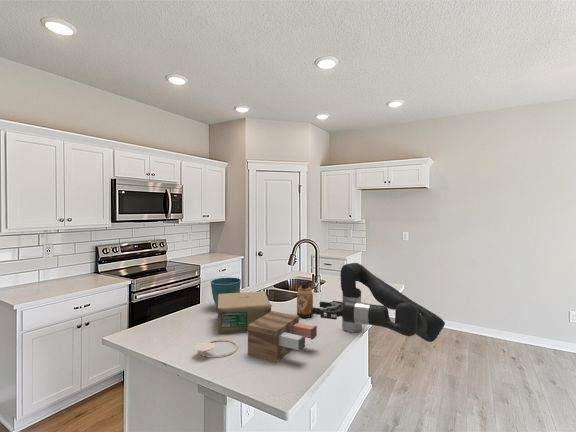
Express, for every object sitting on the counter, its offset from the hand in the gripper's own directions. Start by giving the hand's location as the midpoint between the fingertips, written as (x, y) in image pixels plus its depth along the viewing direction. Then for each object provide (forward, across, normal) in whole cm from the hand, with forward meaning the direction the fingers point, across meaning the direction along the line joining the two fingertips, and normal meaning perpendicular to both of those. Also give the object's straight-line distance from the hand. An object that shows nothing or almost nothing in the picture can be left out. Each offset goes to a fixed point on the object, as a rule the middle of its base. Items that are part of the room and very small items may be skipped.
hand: (315, 307), depth 121 cm
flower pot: (+75, +40, -21) cm, 88 cm away
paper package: (+52, +25, -22) cm, 61 cm away
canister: (+28, +51, -22) cm, 62 cm away
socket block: (+22, +7, -23) cm, 32 cm away
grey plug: (+14, +1, -17) cm, 22 cm away
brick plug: (+14, +13, -17) cm, 25 cm away
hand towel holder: (+44, -6, -23) cm, 50 cm away
